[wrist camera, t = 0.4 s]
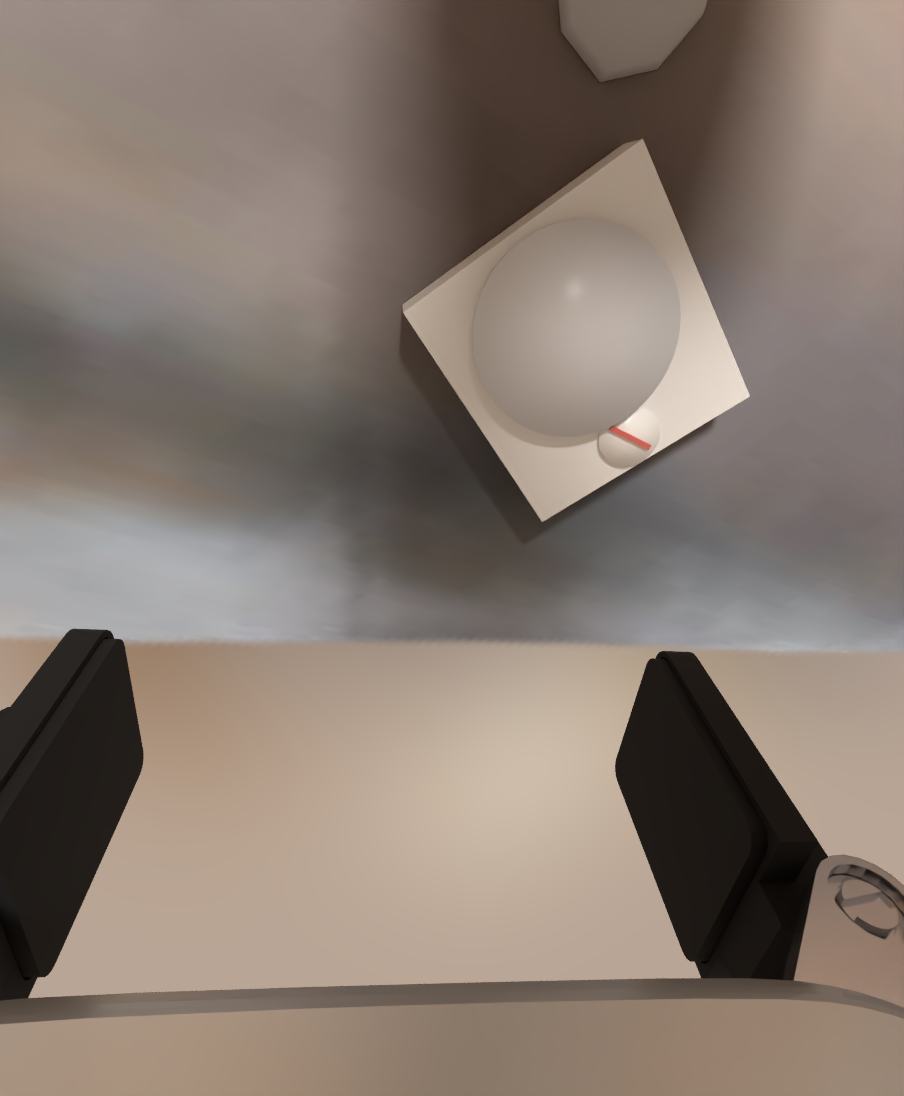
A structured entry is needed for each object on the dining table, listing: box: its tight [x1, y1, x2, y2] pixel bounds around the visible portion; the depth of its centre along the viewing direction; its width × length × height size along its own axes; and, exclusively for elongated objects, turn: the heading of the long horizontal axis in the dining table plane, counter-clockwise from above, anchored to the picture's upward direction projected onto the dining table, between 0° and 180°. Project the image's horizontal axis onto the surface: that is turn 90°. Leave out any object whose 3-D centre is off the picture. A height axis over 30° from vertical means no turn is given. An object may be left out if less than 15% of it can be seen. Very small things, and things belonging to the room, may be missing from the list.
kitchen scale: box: [402, 139, 750, 522], centre depth 35 cm, size 15×14×4 cm
